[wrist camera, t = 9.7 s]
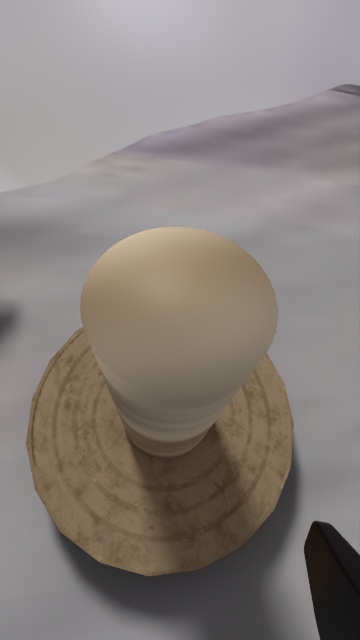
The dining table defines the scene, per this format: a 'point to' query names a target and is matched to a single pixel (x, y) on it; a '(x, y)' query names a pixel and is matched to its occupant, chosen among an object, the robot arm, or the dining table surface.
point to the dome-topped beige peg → (176, 331)
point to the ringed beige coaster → (155, 470)
